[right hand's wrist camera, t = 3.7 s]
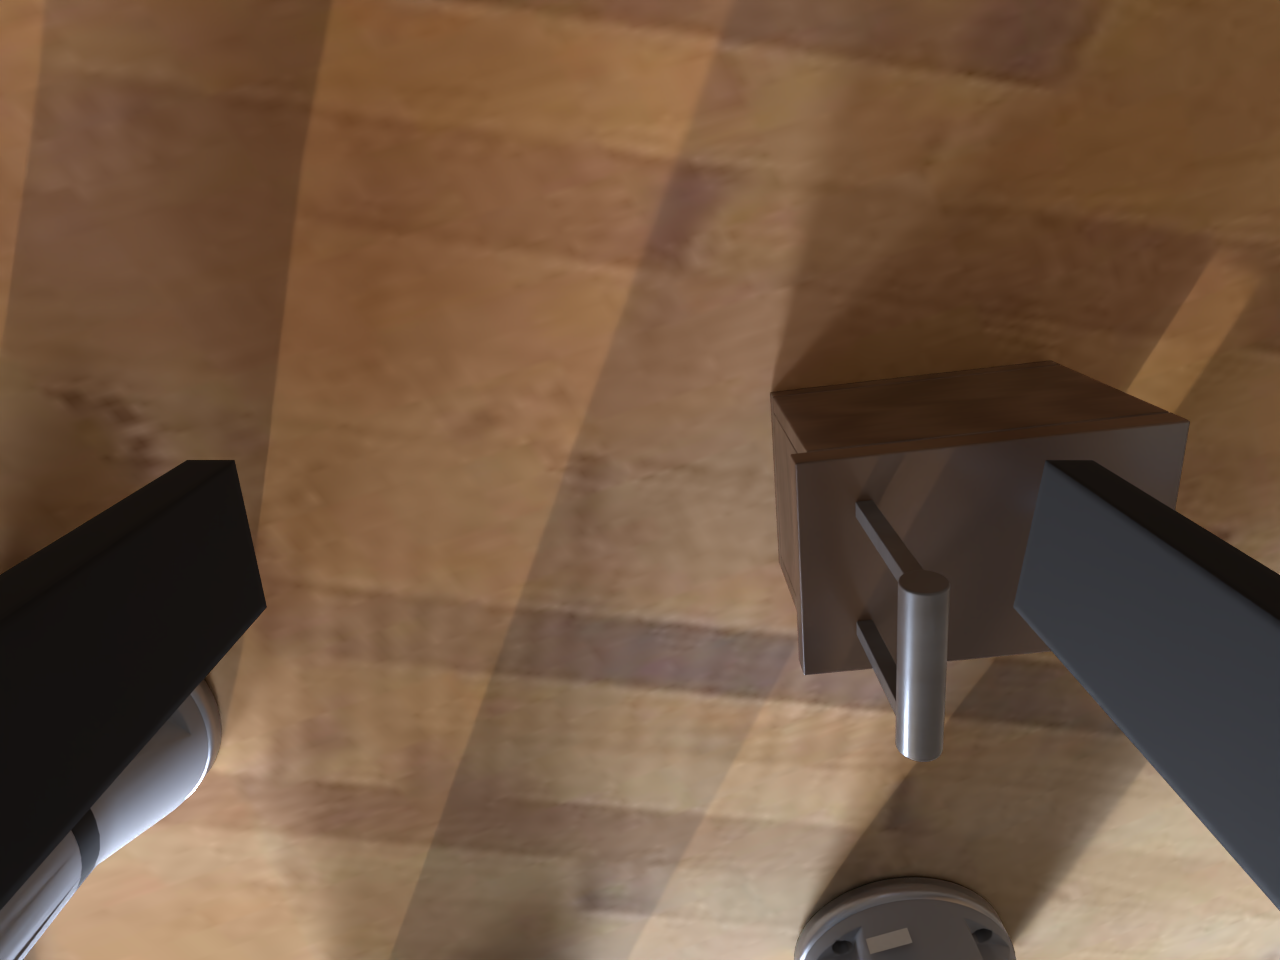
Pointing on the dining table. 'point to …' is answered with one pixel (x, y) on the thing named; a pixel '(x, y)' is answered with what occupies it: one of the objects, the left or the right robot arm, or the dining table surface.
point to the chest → (929, 417)
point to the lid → (940, 550)
